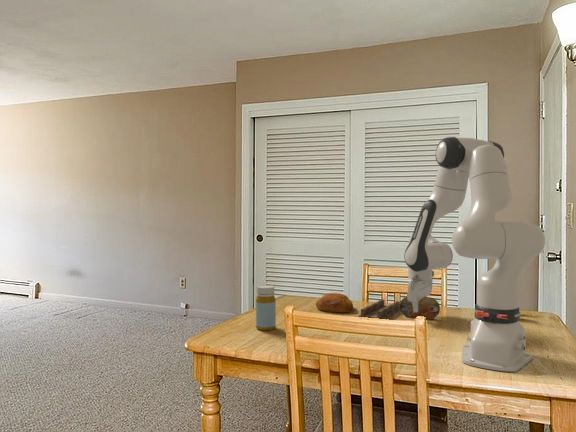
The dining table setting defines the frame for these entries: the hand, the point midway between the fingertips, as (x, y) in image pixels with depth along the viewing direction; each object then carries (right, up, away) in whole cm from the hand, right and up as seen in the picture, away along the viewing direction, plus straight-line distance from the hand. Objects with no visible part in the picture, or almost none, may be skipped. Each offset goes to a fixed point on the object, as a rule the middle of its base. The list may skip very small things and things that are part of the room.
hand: (419, 309), depth 181 cm
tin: (0, -3, 0) cm, 3 cm away
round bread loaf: (-31, -3, +15) cm, 35 cm away
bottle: (-59, -4, -15) cm, 61 cm away
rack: (-14, -3, +6) cm, 15 cm away
